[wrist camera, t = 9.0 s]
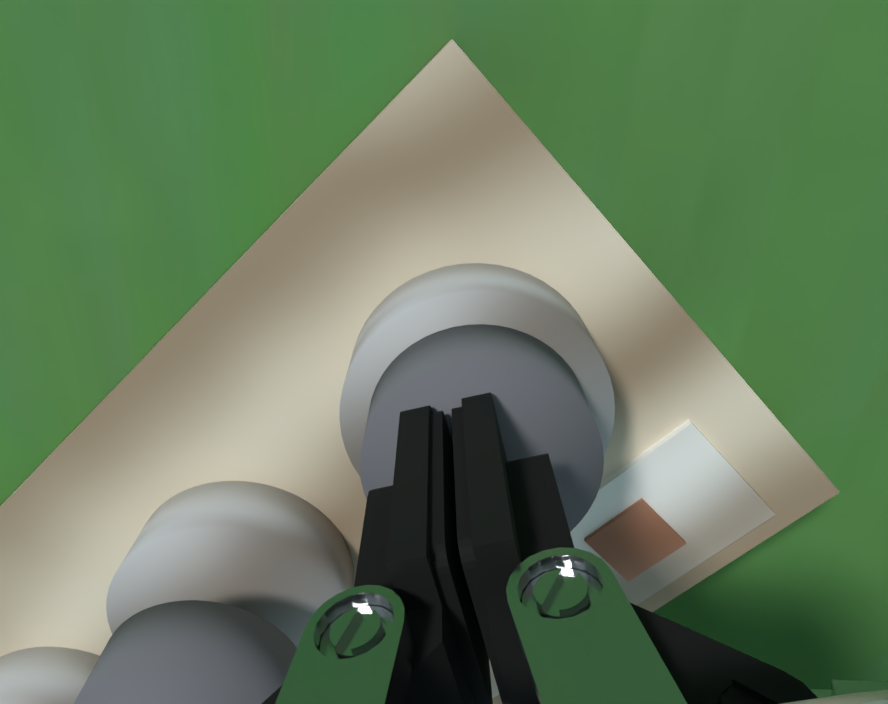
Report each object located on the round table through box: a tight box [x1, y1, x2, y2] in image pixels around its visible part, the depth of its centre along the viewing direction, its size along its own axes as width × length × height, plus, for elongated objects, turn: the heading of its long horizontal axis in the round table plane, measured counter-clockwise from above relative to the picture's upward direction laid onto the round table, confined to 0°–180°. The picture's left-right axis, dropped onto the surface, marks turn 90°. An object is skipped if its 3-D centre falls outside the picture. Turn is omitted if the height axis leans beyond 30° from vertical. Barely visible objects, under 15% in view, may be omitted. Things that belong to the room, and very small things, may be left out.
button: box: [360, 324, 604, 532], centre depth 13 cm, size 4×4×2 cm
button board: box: [0, 39, 840, 704], centre depth 19 cm, size 14×25×5 cm, turn 133°
